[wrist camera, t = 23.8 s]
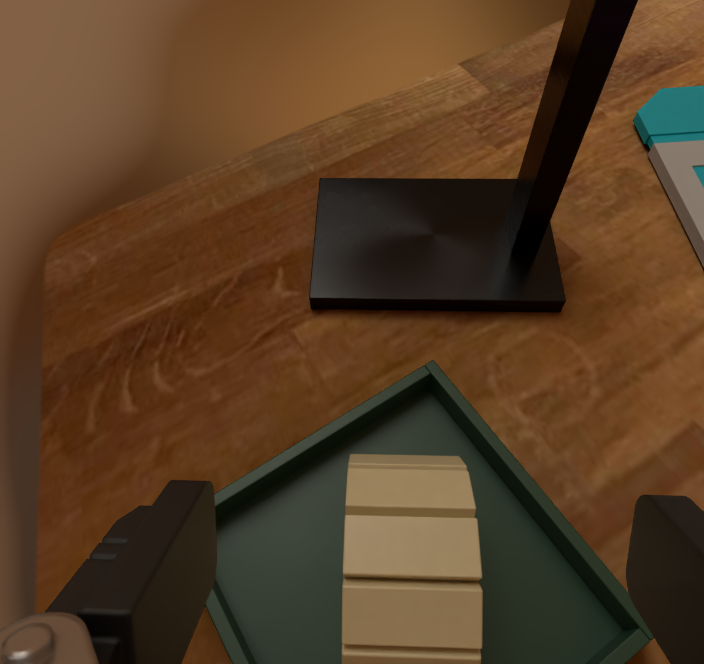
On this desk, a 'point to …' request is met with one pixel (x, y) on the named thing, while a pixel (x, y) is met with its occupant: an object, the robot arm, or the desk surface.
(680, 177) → the square teal disk
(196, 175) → the desk surface
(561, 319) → the desk surface
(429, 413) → the tray
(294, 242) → the desk surface
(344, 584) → the gear wheel
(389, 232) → the hook stand
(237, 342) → the desk surface
